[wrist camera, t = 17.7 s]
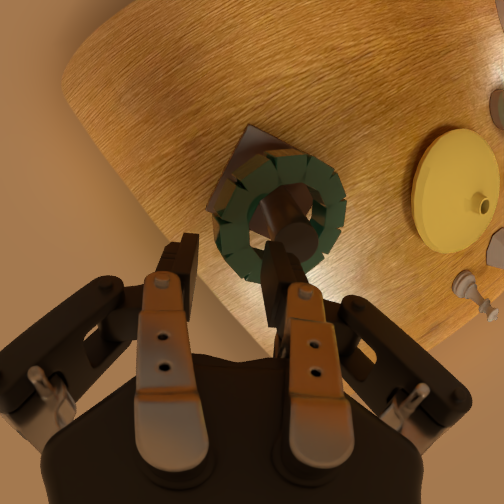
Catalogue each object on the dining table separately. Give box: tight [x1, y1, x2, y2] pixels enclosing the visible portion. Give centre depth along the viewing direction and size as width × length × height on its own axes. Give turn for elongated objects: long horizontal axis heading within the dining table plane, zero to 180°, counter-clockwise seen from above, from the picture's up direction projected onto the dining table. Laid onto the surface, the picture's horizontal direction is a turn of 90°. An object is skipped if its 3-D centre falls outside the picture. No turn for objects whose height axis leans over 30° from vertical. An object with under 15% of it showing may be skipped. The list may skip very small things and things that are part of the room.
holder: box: [205, 124, 319, 263], centre depth 21 cm, size 9×9×13 cm
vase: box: [411, 128, 500, 254], centre depth 25 cm, size 16×16×7 cm
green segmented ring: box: [212, 149, 347, 284], centre depth 19 cm, size 9×9×2 cm
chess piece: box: [452, 270, 498, 322], centre depth 31 cm, size 4×4×10 cm
